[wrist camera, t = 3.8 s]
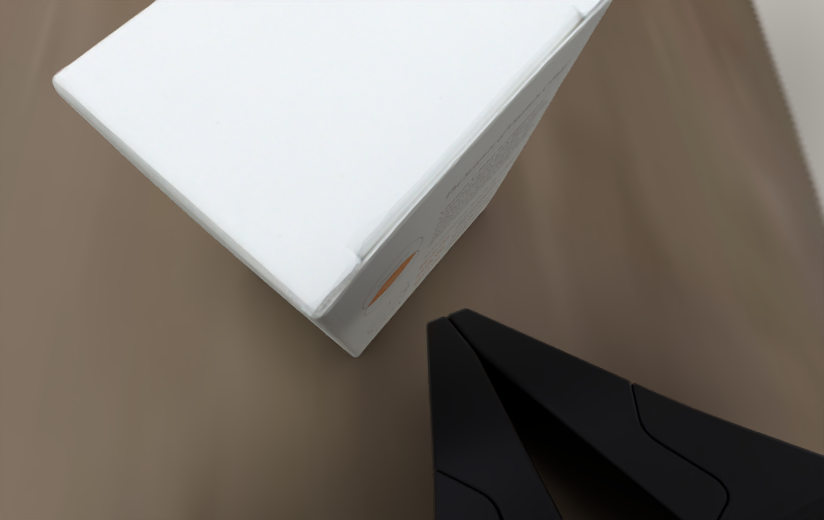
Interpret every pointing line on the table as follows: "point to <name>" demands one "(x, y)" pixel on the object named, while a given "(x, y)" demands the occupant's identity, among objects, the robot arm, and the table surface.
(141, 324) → the table surface
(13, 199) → the table surface
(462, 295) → the table surface
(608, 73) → the table surface
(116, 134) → the small box
